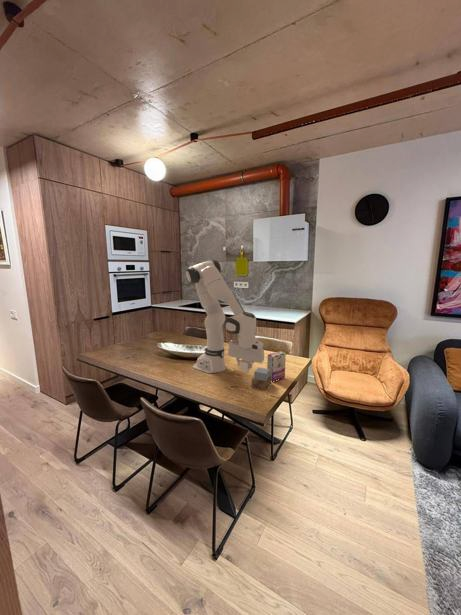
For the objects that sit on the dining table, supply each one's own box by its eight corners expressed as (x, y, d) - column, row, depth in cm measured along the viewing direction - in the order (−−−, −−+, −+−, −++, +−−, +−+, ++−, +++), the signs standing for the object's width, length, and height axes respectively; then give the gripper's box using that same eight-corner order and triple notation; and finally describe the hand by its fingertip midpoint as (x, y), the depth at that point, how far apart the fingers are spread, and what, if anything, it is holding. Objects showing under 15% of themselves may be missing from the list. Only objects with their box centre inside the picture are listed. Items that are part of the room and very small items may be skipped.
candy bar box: (279, 375, 164) (280, 350, 161) (285, 378, 160) (286, 352, 157) (266, 379, 157) (267, 354, 154) (272, 382, 153) (273, 356, 150)
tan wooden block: (251, 387, 148) (251, 379, 147) (256, 381, 156) (257, 373, 155) (266, 391, 144) (266, 382, 143) (271, 384, 152) (271, 376, 151)
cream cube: (238, 370, 140) (239, 361, 140) (242, 366, 145) (242, 358, 144) (247, 372, 138) (247, 363, 137) (250, 368, 143) (251, 360, 142)
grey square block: (254, 379, 147) (254, 371, 147) (257, 374, 154) (258, 367, 153) (266, 381, 145) (266, 373, 144) (269, 376, 151) (269, 369, 150)
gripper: (226, 340, 140) (225, 364, 143) (262, 347, 132) (260, 372, 134) (231, 337, 146) (230, 360, 148) (266, 344, 138) (264, 368, 140)
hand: (244, 366), depth 141 cm, fingers closed on cream cube, 5 cm apart
